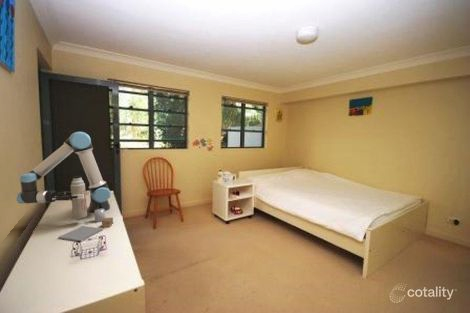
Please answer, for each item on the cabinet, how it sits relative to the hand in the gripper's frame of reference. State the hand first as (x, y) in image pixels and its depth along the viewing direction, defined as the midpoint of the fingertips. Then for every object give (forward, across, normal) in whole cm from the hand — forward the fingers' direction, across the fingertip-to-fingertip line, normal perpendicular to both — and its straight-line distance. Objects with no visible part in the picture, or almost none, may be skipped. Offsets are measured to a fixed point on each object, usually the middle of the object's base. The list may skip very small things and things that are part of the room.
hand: (86, 194), depth 147 cm
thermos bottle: (-5, 0, -15) cm, 16 cm away
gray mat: (+3, +17, -21) cm, 27 cm away
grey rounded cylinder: (+6, -4, -21) cm, 22 cm away
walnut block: (+14, +7, -21) cm, 26 cm away
